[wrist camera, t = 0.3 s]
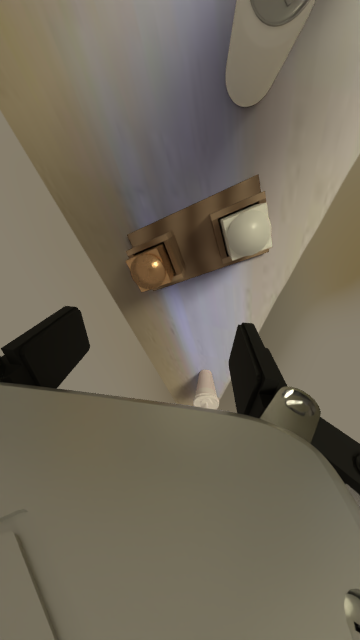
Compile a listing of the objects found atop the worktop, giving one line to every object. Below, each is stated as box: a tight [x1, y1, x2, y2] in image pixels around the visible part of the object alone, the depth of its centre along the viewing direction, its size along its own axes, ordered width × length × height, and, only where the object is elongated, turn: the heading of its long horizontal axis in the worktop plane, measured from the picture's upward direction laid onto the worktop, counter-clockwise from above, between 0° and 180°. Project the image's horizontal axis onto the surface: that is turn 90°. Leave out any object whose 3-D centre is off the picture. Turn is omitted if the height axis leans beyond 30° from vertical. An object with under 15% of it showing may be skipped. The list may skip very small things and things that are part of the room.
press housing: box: [126, 175, 271, 291], centre depth 31 cm, size 24×12×8 cm, turn 111°
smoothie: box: [193, 370, 219, 410], centre depth 46 cm, size 6×6×14 cm
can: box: [225, 0, 316, 107], centre depth 18 cm, size 6×6×12 cm
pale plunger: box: [218, 203, 272, 261], centre depth 25 cm, size 5×5×8 cm
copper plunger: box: [126, 242, 175, 292], centre depth 28 cm, size 5×5×8 cm
